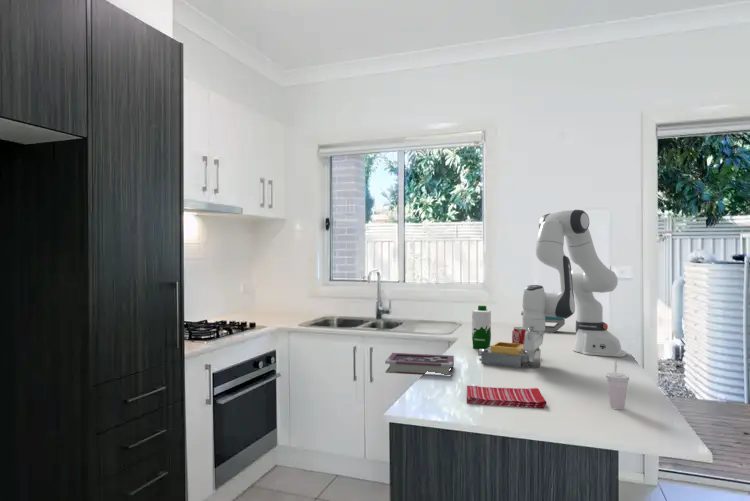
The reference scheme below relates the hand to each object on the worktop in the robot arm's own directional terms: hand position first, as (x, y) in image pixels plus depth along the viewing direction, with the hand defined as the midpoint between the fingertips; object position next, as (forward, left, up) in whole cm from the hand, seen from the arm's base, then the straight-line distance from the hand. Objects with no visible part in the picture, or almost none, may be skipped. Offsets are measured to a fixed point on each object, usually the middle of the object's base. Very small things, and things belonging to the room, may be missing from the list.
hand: (533, 359), depth 198 cm
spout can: (0, 0, -3) cm, 3 cm away
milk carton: (+30, -28, -3) cm, 41 cm away
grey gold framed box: (+14, -1, -3) cm, 14 cm away
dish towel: (0, +49, -4) cm, 49 cm away
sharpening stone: (+12, -94, -3) cm, 95 cm away
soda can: (+10, -21, -3) cm, 24 cm away
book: (+38, +28, -4) cm, 47 cm away
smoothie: (-32, +42, -3) cm, 53 cm away
